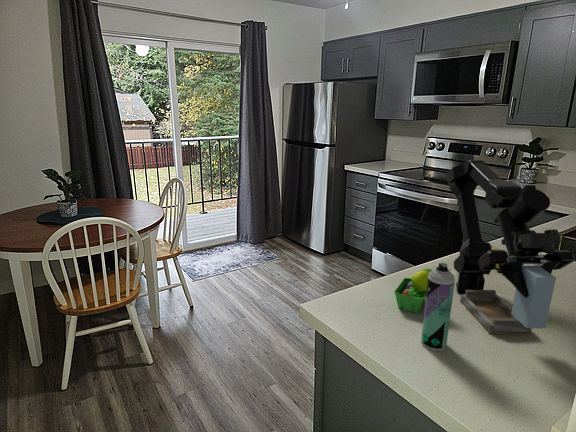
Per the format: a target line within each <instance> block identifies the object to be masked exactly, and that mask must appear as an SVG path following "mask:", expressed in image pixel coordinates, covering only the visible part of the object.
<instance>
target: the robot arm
mask: <svg viewBox="0 0 576 432" xmlns="http://www.w3.org/2000/svg"><path fill="white" fill-rule="evenodd" d="M445 178H446V183H448V189H449V190H450V192H451V193H452V194H453V195H454V196H455V197H456V201H457V207H458V213H459V219H460V227H461V232H462V237H463V238H462V239H463V243H462V245H461V247H460V248H459V256H458V257H456V258H455V260H454V261H453V269H454V270H455V271H456V272H457V273H458V274H457V275H458V276H457V282H456V285H455V286H456V292H457V294H458V295H459V294H461V295H465V290H485V283H486V282H485V281H486V278H485V276H484V275H490V273H491V271H493V270H495V269H496V264H499V268H500V269H497V270H496V272H497V274H501V275H502V276H503V277H505V279H506V280H508V281H509V282H510V283H511V285H513V287H514V288H515V290H516V289H517V290H518V291H519V292H520V293H521V294H522V295H523V296H524V297H525V298H527V297H529V294H528V289H527V286H526V283H525V280H524V277H523V274H522V264H524V265H533V266H539V267H541V268H542V269H544V270H545V271H547V272H548V273H550V274H552V272H553V270H554V271H557V270H562V269H563V268H565V267H567V266H568V265H570V264H572V263H574V262H576V259H575V258H576V257H574V256H575V255H574V254H573V252H572V251H571V250H569V249H555V245H560V244H561V242H562V239H561V235H560V232H559V231H558V229H545V230H544V232H537V231H536V230H535V229H534V230H533V229H532V230H531V229H530V225H529V223H531V222H533V221H534V220H536V219H537V218H538V217H539V216H541V214H543V213H544V212H545V211H546V210H547V209H548V208H549V207H550V206H551V200H550V197H549V196H547V194H545V192H543V191H541V190H540V189H537V187H536V185H535V184H525V185H524V186H523V188H522V186H520V185H519V184H516V183H514V182H512V181H509V180H505V179H502V178H501V177H500V176H499V175H498V174H497V173H495V171H493V170H492V169H491V168H490V167H489V166H488V165H487V163H486V161H485V160H482V159H468V160H465V161H464V162H463V163H461V164H458V165H456V166H453V167H452V168H451V169H449V170H448V171H447V174H446V177H445ZM478 186H479V187H480V188H481V189H482V190H483V191H484V192H485V196H484V199H485V201H486V203H487V204H488V206H489V207H490V208H491V209H502V210H501V211H500V212H497V213H496V214H497V215H496V216H495V218H494V221H493V222H494V224H499V227H500V231H501V234H502V237H503V238H502V240H501V241H500V243H501V245H502V246H505V247H506V250H504V249H501V250H491V246H492V245H491V243H490V242H486V241H485V240H484V239H483V236H482V232H481V226H480V220H479V214H478V210H477V204H476V199H475V197H476V196H475V191H476V189H477V187H478ZM546 248H547V249H552V250H550V251H549V252H547V253H545V254H539V253H543V252H544V251H545V249H546ZM507 252H508V253H507ZM508 254H509V255H508Z"/></svg>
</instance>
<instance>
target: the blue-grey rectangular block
mask: <svg viewBox="0 0 576 432" xmlns="http://www.w3.org/2000/svg"><path fill="white" fill-rule="evenodd" d="M522 274H523V277H524V280H525V283H526V286H527V289H528V294H529V297H527V298H525V297H524V296H523V295H522V294H521V293H520V292H519V291H518V290H517V289H516V288H515V292H514V297H513V302H512V306H511V307H512V312H511V314H512V315H513V316H514V317H515V318H516V319H517V320H519V321H520V322H521V323H522V324H523V325H524V326H525V327H526V328H532V329H546V327H547V321H548V316H549V313H550V309H551V308H550V307H551V303H552V298H553V295H554V291H555V290H554V289H555V286H556V285H555V284H556V279H557V277H556V276H555V275H553V274H552V273H551V274H550V273H548V272H547V271H545V270H544V269H542V268H541V267H539V266H534V265H523V266H522Z"/></svg>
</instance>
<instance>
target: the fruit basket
mask: <svg viewBox="0 0 576 432" xmlns="http://www.w3.org/2000/svg"><path fill="white" fill-rule="evenodd" d="M431 270H432V268H428V267H426V268H424V269H423V270H422V271H417V272H415V273H414V274H412V276H411V277H404V278H403V279H402V281H401V282H400V283H399V285H398V286H397V287H396V288H395V290H394V291H393V292H394V295H395V298H396V299H395V300H396V303H397V308H398V309H399V308H401V309H400V310H403V309H405V310H404V311H407V310H408V311H407V312H413V313H415V314H418V313H419V312H420V309H421V308H422V306H423V304H424V302H425V301H426V292H427V283H428V275H429V272H430V271H431ZM423 301H424V302H423Z"/></svg>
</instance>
